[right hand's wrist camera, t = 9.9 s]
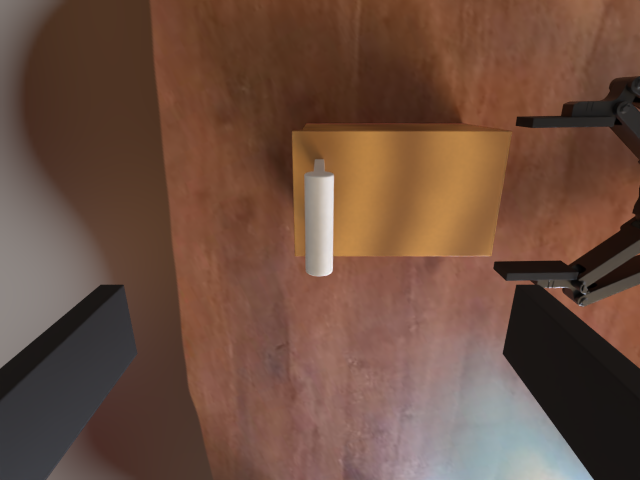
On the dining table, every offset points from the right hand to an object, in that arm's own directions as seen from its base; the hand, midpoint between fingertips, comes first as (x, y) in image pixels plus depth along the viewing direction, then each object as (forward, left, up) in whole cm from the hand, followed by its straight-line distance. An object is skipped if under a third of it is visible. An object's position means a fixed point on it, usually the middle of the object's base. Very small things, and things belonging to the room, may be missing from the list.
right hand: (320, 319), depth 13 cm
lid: (+6, -2, -19) cm, 20 cm away
